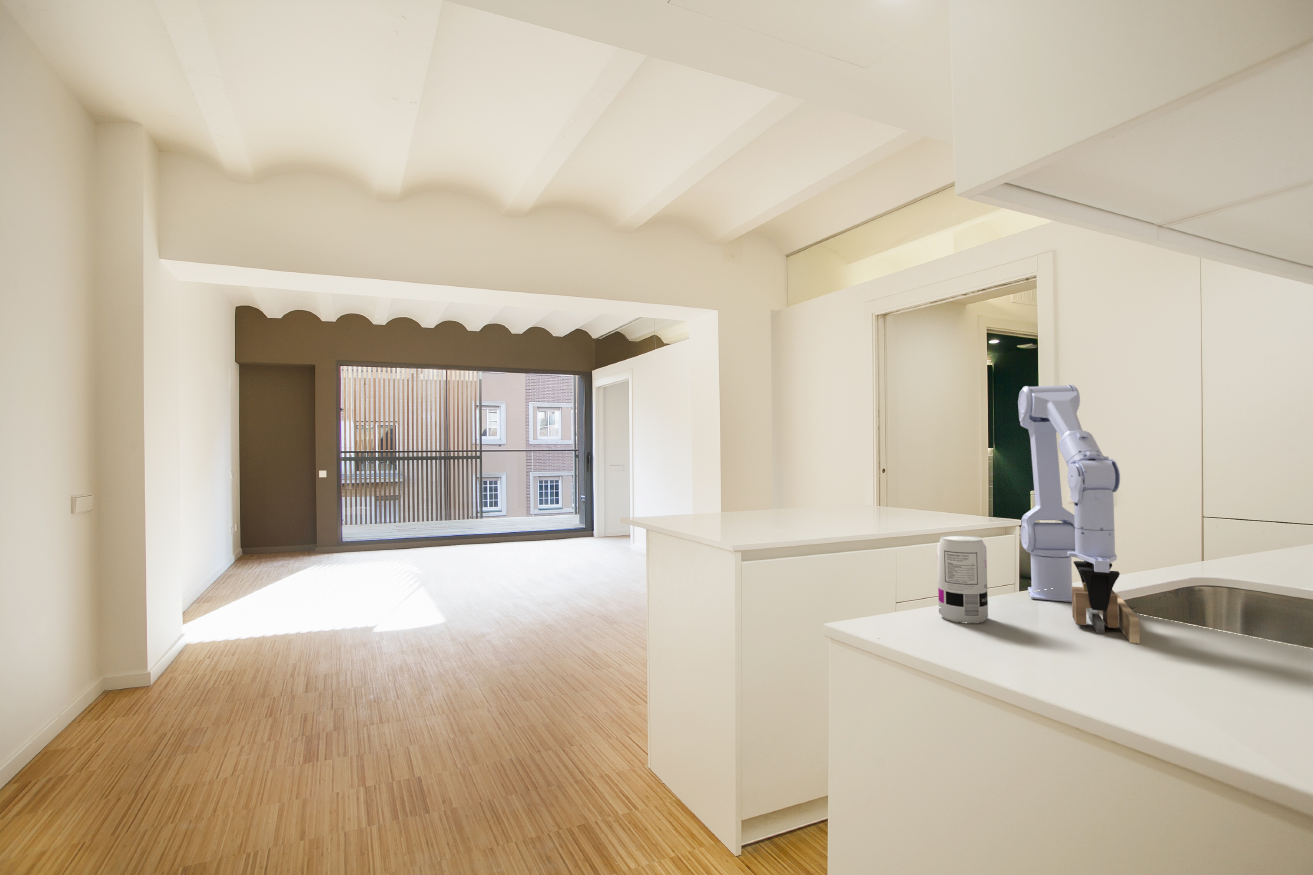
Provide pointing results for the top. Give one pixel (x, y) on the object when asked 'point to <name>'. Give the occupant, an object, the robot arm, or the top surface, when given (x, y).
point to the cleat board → (1119, 621)
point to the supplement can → (962, 578)
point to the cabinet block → (1082, 602)
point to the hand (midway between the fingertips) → (1096, 606)
